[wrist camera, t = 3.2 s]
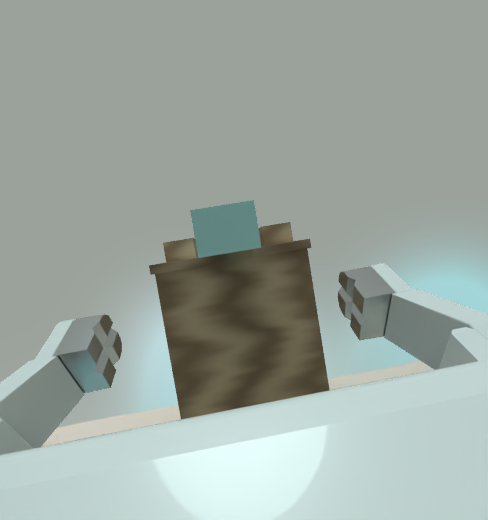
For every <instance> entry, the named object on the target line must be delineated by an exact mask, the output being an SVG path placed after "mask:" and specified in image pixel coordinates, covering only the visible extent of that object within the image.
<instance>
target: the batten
mask: <svg viewBox="0 0 488 520" xmlns="http://www.w3.org/2000/svg"><path fill="white" fill-rule="evenodd" d="M191 217H192V223H193V229H194V235H195V240H196V246H197V252H198V258H202V257H208V256H214V255H220V254H226V253H232V252H238V251H244V250H250V249H256V248H261V242H260V236H259V229H258V224H257V217H256V211H255V206H254V200H253V201H246V202H240V203H233V204H228V205H221V206H215V207H208V208H202V209H196V210H191Z"/></svg>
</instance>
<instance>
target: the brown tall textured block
mask: <svg viewBox="0 0 488 520" xmlns="http://www.w3.org/2000/svg"><path fill="white" fill-rule="evenodd" d="M259 236H260V242H261V248H256V249H250V250H244V251H238V252H232V253H226V254H220V255H214V256H208V257H202V258H198V252H197V246H196V240H195V239H194V238H190V239H184V240H179V241H172V242H166V243H163V245H164V251H165V256H166V262H167V263H162V264H156V265H150V266H149V268H150V273H151V274H155V276H156V281H157V287H158V293H159V299H160V304H161V310H162V315H163V321H164V326H165V332H166V337H167V343H168V349H169V354H170V360H171V365H172V371H173V377H174V382H175V388H176V393H177V399H178V405H179V410H180V416H181V419H186V418H191V417H196V416H202V415H207V414H212V413H217V412H222V411H227V410H232V409H237V408H242V407H247V406H253V405H258V404H263V403H268V402H273V401H278V400H283V399H288V398H293V397H298V396H304V395H309V394H314V393H319V392H324V391H329V385H328V378H327V372H326V366H325V359H324V353H323V346H322V340H321V334H320V327H319V321H318V315H317V308H316V302H315V296H314V289H313V283H312V277H311V270H310V264H309V258H308V251H307V248H311V243H310V239H306V240H299V241H293V237H292V231H291V225H290V222H288V223H282V224H276V225H270V226H263V227H261V228H259Z"/></svg>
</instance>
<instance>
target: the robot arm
mask: <svg viewBox="0 0 488 520" xmlns="http://www.w3.org/2000/svg"><path fill="white" fill-rule="evenodd" d="M339 283H340V284H341V285H342V287H341V289H340V290H339V291H338V301H339V306H340V309H341V311H342V313H343V315H344V316H345V317H346V318H348V319H350V320H351V325H350V326H351V328H352V329H353V331H354V333H355V334H356V336H357V337H358V339H359V340H364V339H371V338H376V337H383V336H384V338H386V339H388V340H389V341H391V342H392V343H394V344H395V345H397V346H398V347H400V348H402V349H403V350H405V351H406V352H408V353H410V354H411V355H413V356H414V357H416V358H417V359H419V360H420V361H422V362H424V363H425V364H427V365H428V366H430V367H431V368H433V369H435V370H431V371H426V372H421V373H416V374H411V375H406V376H401V377H395V378H390V379H385V380H380V381H375V382H370V383H365V384H360V385H355V386H349V387H344V388H339V389H334V390H329V391H324V392H319V393H314V394H309V395H304V396H298V397H293V398H288V399H283V400H278V401H273V402H268V403H263V404H258V405H253V406H247V407H242V408H237V409H232V410H227V411H222V412H217V413H212V414H207V415H202V416H196V417H191V418H186V419H181V420H176V421H171V422H166V423H161V424H156V425H151V426H145V427H140V428H135V429H130V430H125V431H120V432H115V433H110V434H105V435H100V436H94V437H89V438H84V439H79V440H74V441H69V442H64V443H59V444H54V445H49V446H43V447H41V446H42V445H43V443H44V442H45V441H46V440H47V439H48V437H49V436H50V435H51V434H52V433H53V432H54V430H55V429H56V428H57V427H58V426H59V424H60V423H61V422H62V421H63V420H64V418H65V417H66V416H67V415H68V414H69V413H70V411H71V410H72V409H73V408H74V407H75V405H76V404H77V403H78V402H79V400H80V399H81V398H82V397H83V396H84V393H89V392H93V391H98V390H102V389H107V388H110V387H111V385H112V382H113V378H114V375H115V372H116V369H115V368H114V366H113V365H114V364H115V363H116V362H117V361H118V360H119V359H120V356H121V352H122V343H121V339H120V337H119V334H118V332H116V331H115V330H113V329H111V326H112V323H113V322H112V321H111V319H110V317H109V316H108V315H99V316H92V317H86V318H80V319H76V320H68V321H62V322H60V323H58V324H57V325H56V327H55V328H54V330H53V332H52V333H51V335H50V337H49V338H48V340H47V341H46V343H45V344H44V346H43V347H42V349H41V351H40V352H39V354H38V355H37V357H36V359H35V360H32V361H29V362H28V363H26V364H25V365H24V366H22V367H21V368H20V369H18V370H17V371H16V372H14V373H13V374H12V375H10V376H9V377H8V378H6V379H5V380H4V381H2V382H1V383H0V520H488V314H486V313H483V312H480V311H478V310H475V309H472V308H469V307H466V306H463V305H461V304H458V303H455V302H452V301H449V300H446V299H444V298H441V297H438V296H435V295H432V294H429V293H427V292H424V291H421V290H418V289H415V290H412V289H411V288H410V287H409V286H408V285H407V284H406V283H405V282H404V281H403V280H401V278H400V277H398V276H397V275H396V274H395V273H394V272H393V271H392V270H391V269H390V268H389V267H388V266H387V265H386V264H383V263H382V264H377V265H373V266H368V267H365V268H360V269H354V270H348V271H343V272H341V273H340V275H339Z"/></svg>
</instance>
